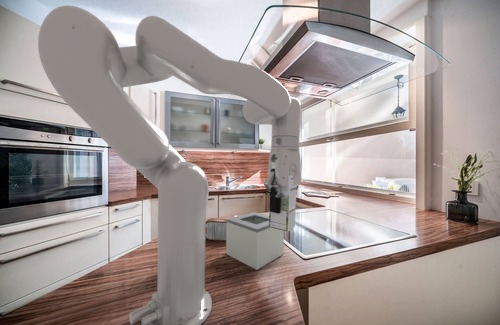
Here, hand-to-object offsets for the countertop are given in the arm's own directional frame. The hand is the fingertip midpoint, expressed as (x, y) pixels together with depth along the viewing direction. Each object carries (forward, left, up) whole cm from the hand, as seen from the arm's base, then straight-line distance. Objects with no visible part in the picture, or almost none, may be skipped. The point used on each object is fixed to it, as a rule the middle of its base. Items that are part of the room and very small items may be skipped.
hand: (282, 209), depth 53 cm
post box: (+6, +15, -19) cm, 25 cm away
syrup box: (0, 0, -5) cm, 5 cm away
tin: (+5, +33, -19) cm, 38 cm away
